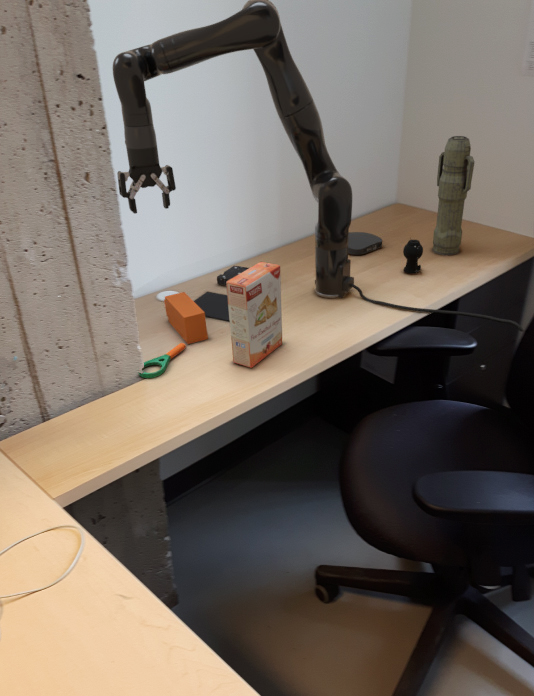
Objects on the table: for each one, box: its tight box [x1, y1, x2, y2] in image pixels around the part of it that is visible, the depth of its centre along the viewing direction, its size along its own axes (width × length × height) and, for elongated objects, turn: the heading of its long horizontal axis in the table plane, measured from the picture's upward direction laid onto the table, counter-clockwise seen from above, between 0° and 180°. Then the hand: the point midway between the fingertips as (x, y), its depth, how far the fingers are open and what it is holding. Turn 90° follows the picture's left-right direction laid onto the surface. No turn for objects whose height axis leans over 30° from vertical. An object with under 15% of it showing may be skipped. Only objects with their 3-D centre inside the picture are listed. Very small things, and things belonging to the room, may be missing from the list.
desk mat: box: [193, 291, 230, 323], centre depth 167 cm, size 20×14×1 cm
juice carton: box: [163, 291, 209, 345], centre depth 155 cm, size 17×6×8 cm, turn 28°
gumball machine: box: [402, 237, 424, 275], centre depth 180 cm, size 7×6×10 cm
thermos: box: [432, 135, 475, 256], centre depth 187 cm, size 9×12×35 cm
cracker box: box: [226, 261, 283, 369], centre depth 139 cm, size 14×6×21 cm, turn 148°
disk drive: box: [216, 265, 250, 287], centre depth 181 cm, size 10×3×15 cm
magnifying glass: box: [138, 342, 187, 379], centre depth 142 cm, size 15×6×2 cm, turn 150°
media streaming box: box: [348, 231, 383, 256], centre depth 203 cm, size 15×15×3 cm
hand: (150, 210), depth 156 cm, fingers open, 8 cm apart
